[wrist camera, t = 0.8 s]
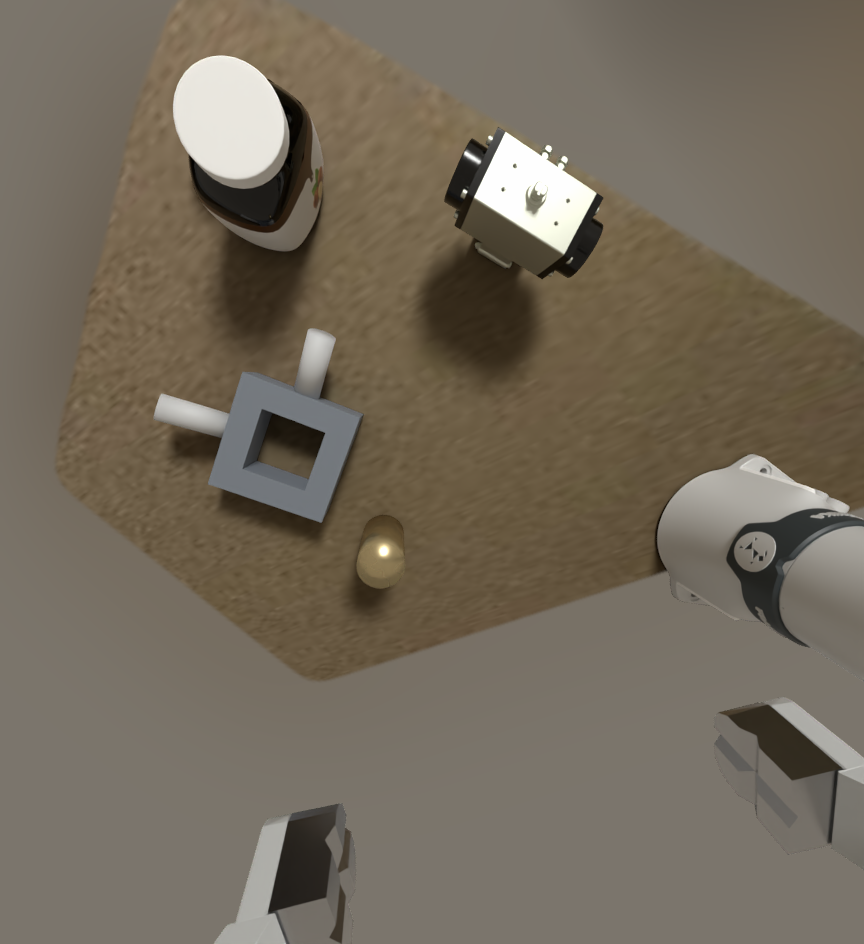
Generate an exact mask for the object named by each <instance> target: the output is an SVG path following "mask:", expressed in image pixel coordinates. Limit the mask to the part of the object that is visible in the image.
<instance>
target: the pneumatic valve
mask: <svg viewBox="0 0 864 944" xmlns="http://www.w3.org/2000/svg"><path fill="white" fill-rule="evenodd" d="M486 145H488V146H489V147H488V148H487V147H485V146H483V145H482V144H480V143H479V142H477V141H476V140H474V139H473V138H472V139H471V140H470V141H469V143H468V145H467V147H466V149H465V150H464V153H463V155H462V157H461V159H460V161H459V163H458V165H457V168H456V170H455V172H454V175H453V177H452V180H451V182H450V184H449V187H448V190H447V192H446V195H445V199H444V202H445V203H447V204H449V205H450V206H452V207H454V208H455V209H457V210H458V211H457V210H456V212H455V214H454V218H455V219H457V220H456V223H455V226H456V227H457V228H459V229H461V230H462V231H464V232H466V233H467V234H469V235H471V236H472V237H474V238H475V239H477V240H479V241H480V242H482V243H480V242H478V243H477V242H476V243H475V246H476V247H475V248H476V249H477V250H478V251H477V252H478V253H480V254H481V255H483V256H485V257H486V258H488V259H490V260H491V261H493V262H495V263H496V264H498V265H500V266H501V267H503V268H505V269H506V268H510V267H511V265H512V262H511V261H513V262H515V263H516V264H518V265H520V266H521V267H523V268H525V269H526V270H528V271H530V272H531V273H533V274H534V275H536V276H538V277H539V278H541V279H543V278H545V277H546V276H547V275H548V276H550V277H551V276H552V274H553V273H554V271H557V272H559V273H560V274H562V275H563V276H565V277H567V278H570V277H571V276H573V275H574V274H575V273H576V272H577V271H578V270H579V269H580V268H581V266H582V265H583V264H584V263H585V261H586V260H587V258H588V257H589V255H590V254H591V252H592V251H593V249H594V248H595V246H596V244H597V242H598V240H599V238H600V236H601V233H602V230H603V224H602V223H601V222H599V221H598V220H596V219H594V218H593V216H594V215H596V214H597V212H598V211H599V205H600V203H601V201H602V200H603V197H602V196H600V195H599V194H597V193H596V192H594V191H593V190H591V189H590V188H588V187H587V186H585V185H584V184H582V183H581V182H579V181H578V180H576V179H575V178H573V177H572V176H571V175H569V174H568V173H566V172H565V168H566V167H567V165H568V159H567V158H566V157H565V156H560V157H559V158H558V159H557V163H556V164H555V165H554V164H553V163H551V162H550V161H549V157H551V155H552V153H553V150H552V148H551V147H550V146H548V145H544V146H543V147H542V149H541V153H539V154H538V153H536V152H535V151H533V150H532V149H530V148H529V147H527V146H526V145H524V144H523V143H521V142H520V141H518V140H517V139H515V138H514V137H512V136H511V135H509V134H508V133H505V131H503V130H502V129H500V128H499V127H498V129H497V131H496V133H495V135H494V137H492V136H491V135H489V137H488V139H487V141H486Z"/></svg>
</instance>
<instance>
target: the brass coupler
mask: <svg viewBox="0 0 864 944" xmlns="http://www.w3.org/2000/svg"><path fill="white" fill-rule="evenodd" d="M356 568H357V573H358V575H359V577H360V579H361V580H362V581H363V582H364V583H366V584H367V585H369V586H371V587H374V588H387V587H390V586H392V585H394V584H395V583H397V582H398V581H399V580H400V579H401V577H402V576H403V574H404V570H405V552H404V531H403V527H402V525H401V524H400V522H399V521H398V520H397V519H395V518H394V517H392V516H388V515H379V516H376V517H374V518H372V519H371V520H369V521H368V523H367V524H366V526H365V528H364V532H363V536H362V541H361V545H360V550H359V554H358V559H357V564H356Z"/></svg>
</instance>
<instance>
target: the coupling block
mask: <svg viewBox="0 0 864 944" xmlns="http://www.w3.org/2000/svg"><path fill="white" fill-rule="evenodd" d="M335 340H336V339H335V337H334V336H333V335H331V334H329V333H327V332H325V331H322V330H319V329H308V332H307V336H306V340H305V345H304V349H303V353H302V357H301V361H300V365H299V369H298V374H297V378H296V382H295V386H294V387H293V386H290V385H288V384H285V383H283V382H280V381H277V380H275V379H272V378H270V377H267V376H265V375H262V374H260V373H255V372H242V375H241V378H240V382H239V385H238V388H237V391H236V395H235V398H234V401H233V404H232V407H231V411H230V414H229V413H225V412H222V411H219V410H215V409H212V408H209V407H205V406H202V405H199V404H195V403H192V402H189V401H185V400H182V399H179V398H175V397H172V396H169V395H165V394H161V396H160V398H159V400H158V403H157V406H156V410H155V414H154V420H157V421H161V422H164V423H168V424H172V425H175V426H179V427H183V428H187V429H190V430H194V431H198V432H201V433H205V434H209V435H212V436H216V437H220V438H222V440H221V443H220V446H219V450H218V453H217V456H216V459H215V462H214V466H213V469H212V472H211V475H210V479H209V482H208V484H209V485H212V486H215V487H218V488H221V489H224V490H227V491H230V492H233V493H236V494H239V495H241V496H244V497H247V498H250V499H253V500H256V501H259V502H262V503H265V504H268V505H271V506H274V507H277V508H279V509H282V510H285V511H288V512H291V513H294V514H297V515H300V516H303V517H306V518H309V519H312V520H315V521H317V522H320V523H322V521H323V519H324V517H325V515H326V513H327V512H328V509H329V507H330V504H331V501H332V499H333V496H334V493H335V490H336V488H337V485H338V482H339V480H340V477H341V474H342V471H343V469H344V466H345V463H346V461H347V458H348V455H349V452H350V450H351V447H352V444H353V442H354V439H355V436H356V434H357V431H358V428H359V425H360V423H361V420H362V417H363V415H364V414H362V413H359V412H357V411H354V410H352V409H349V408H346V407H344V406H341V405H339V404H336V403H334V402H331V401H329V400H326V399H323V398H321V397H320V393H321V390H322V386H323V383H324V379H325V375H326V372H327V368H328V365H329V361H330V358H331V354H332V350H333V347H334V343H335ZM272 413H274V414H277V415H280V416H282V417H285V418H288V419H290V420H293V421H296V422H298V423H301V424H303V425H306V426H309V427H311V428H314V429H317V430H319V431H322V432H325V436H324V438H323V441H322V444H321V447H320V450H319V452H318V455H317V458H316V461H315V464H314V466H313V469H312V472H311V475H310V478H309V479H306V478H303V477H301V476H298V475H295V474H292V473H289V472H287V471H284V470H281V469H278V468H275V467H273V466H270V465H267V464H264V463H261V462H259V461H257V458H258V455H259V452H260V449H261V446H262V443H263V440H264V437H265V434H266V431H267V428H268V425H269V422H270V418H271V415H272Z"/></svg>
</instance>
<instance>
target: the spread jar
mask: <svg viewBox="0 0 864 944" xmlns="http://www.w3.org/2000/svg"><path fill="white" fill-rule="evenodd" d="M173 115H174V122H175V127H176V131H177V133H178V136H179V138H180V141H181V143H182V144H183V146H184V148H185V149H186V151H187V152H188V155H189V167H190V173H191V178H192V183H193V186H194V189H195V191H196V193H197V195H198V197H199V199H200V201H201V202H202V203H203V205H204V206H205V207H206V208H207V210H208V211H209V212H210V213H211V214H212V215H213V216H214V217H216V218H217V219H218V220H219V221H220V222H221V223H222V224H223V225H225V226H226V227H227V228H228V229H230V230H231V231H232V232H234V233H235V234H237V235H238V236H240V237H242V238H244V239H245V240H247V241H249V242H251V243H253V244H256V245H258V246H261V247H264V248H267V249H271V250H276V251H291V250H294V249H296V248H297V247H299V246H300V245H301V244H302V242H303V241H304V240H305V239H306V238H307V236H308V235H309V233H310V231H311V230H312V228H313V226H314V224H315V222H316V219H317V217H318V214H319V210H320V206H321V200H322V192H323V180H324V168H323V157H322V151H321V146H320V143H319V140H318V136H317V133H316V130H315V127H314V125H313V122H312V120H311V118H310V116H309V114H308V112H307V111H306V109H305V108H304V107H303V105H302V104H301V103H300V102H299V101H298V100H297V99H296V98H295V97H293V96H292V95H291V94H290V93H288V92H287V91H286V90H284V89H283V88H281V87H280V86H278V85H276V84H275V83H273V82H272V81H271V80H269V79H266V78H265V77H264V75H262V74H261V73H260V72H259V71H258V70H257V69H256V68H255V67H253V66H251V65H250V64H248V63H246V62H245V61H242V60H240V59H237V58H234V57H228V56H211V57H208V58H205V59H202V60H200V61H198V62H197V63H195V64H194V65H192V66H191V67H190V68H189V69H188V70H187V71H186V72H185V73H184V75H183V76H182V78H181V80H180V81H179V83H178V86H177V89H176V92H175V95H174V103H173Z"/></svg>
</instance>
